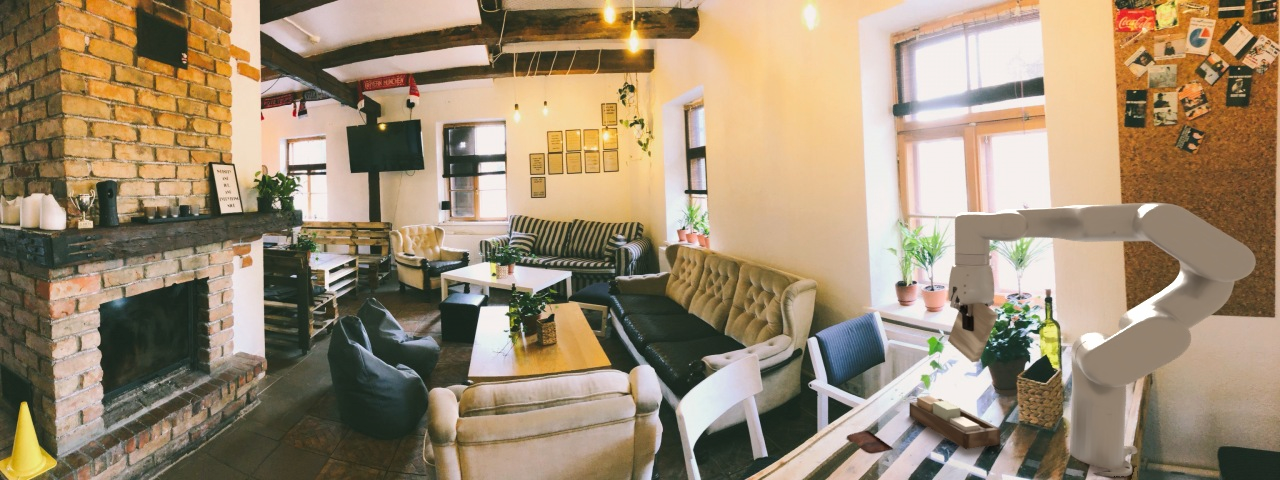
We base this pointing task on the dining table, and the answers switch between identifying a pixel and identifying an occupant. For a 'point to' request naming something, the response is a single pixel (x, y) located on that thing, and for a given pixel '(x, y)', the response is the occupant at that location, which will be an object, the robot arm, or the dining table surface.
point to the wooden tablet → (868, 441)
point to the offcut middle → (946, 410)
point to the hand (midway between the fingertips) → (972, 329)
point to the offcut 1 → (926, 402)
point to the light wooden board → (973, 332)
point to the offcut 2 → (964, 424)
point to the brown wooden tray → (967, 440)
